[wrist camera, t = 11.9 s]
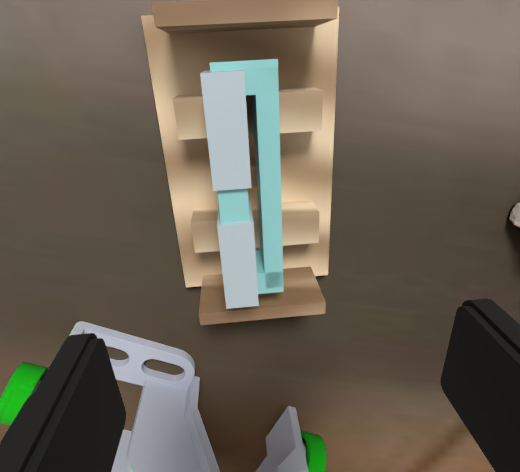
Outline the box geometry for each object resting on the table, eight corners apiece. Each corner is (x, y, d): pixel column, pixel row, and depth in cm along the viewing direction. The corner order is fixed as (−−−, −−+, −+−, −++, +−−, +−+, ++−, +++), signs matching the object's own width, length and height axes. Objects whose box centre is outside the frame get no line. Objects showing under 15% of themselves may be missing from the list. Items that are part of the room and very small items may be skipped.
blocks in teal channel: (277, 267, 27) (287, 308, 22) (226, 271, 27) (227, 314, 22) (270, 59, 21) (283, 58, 16) (204, 62, 21) (198, 63, 16)
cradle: (325, 268, 32) (345, 311, 26) (187, 280, 31) (179, 327, 26) (334, 8, 23) (368, -7, 18) (144, 17, 22) (118, 3, 17)
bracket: (235, 484, 44) (237, 592, 35) (16, 442, 38) (-48, 561, 29) (308, 381, 38) (334, 481, 29) (58, 308, 31) (-10, 408, 22)
